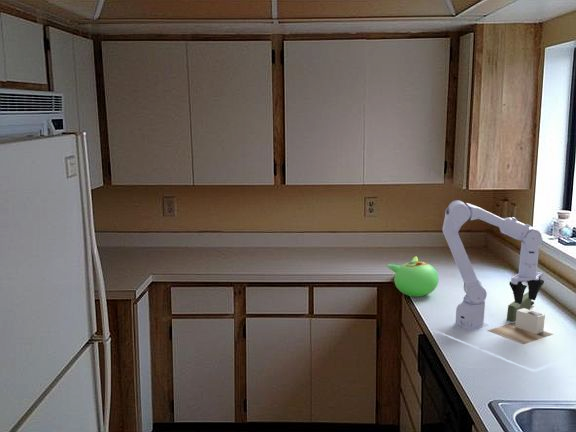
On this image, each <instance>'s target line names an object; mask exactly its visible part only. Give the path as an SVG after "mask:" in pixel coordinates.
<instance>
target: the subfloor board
mask: <svg viewBox="0 0 576 432" xmlns="http://www.w3.org/2000/svg"><path fill="white" fill-rule="evenodd" d="M515 326H516V321H513V322H510V323H507V324H503V325H502V326H497V327H494V328H491V329H487V330H486V331H487V332H490V333H493V334H495V335H498V336H501V337H503V338H505V339H506V338H507V339H509V340H511V341H514V342H516V343H519V344H522V345H526V344H529V343H532V342H535V341H537V340H540V339H543V338H546V337H550V336H553V335H554V333H551V332H548V331H545V330H543V332H541V333H538V334H534V333H531V332H528V331H526V330H523V329H520V328H517V327H515Z"/></svg>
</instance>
